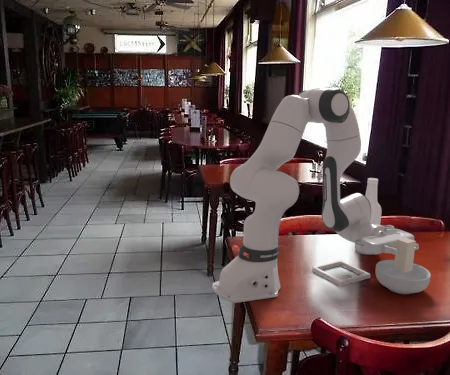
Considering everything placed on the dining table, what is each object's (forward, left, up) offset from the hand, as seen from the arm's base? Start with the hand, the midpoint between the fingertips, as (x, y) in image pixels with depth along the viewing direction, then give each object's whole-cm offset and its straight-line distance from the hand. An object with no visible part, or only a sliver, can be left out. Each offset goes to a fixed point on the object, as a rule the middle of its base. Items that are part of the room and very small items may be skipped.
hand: (407, 249), depth 139 cm
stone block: (0, +1, -7) cm, 7 cm away
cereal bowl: (0, +1, -14) cm, 14 cm away
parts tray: (-9, +19, -14) cm, 25 cm away
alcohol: (+17, +31, -14) cm, 38 cm away
